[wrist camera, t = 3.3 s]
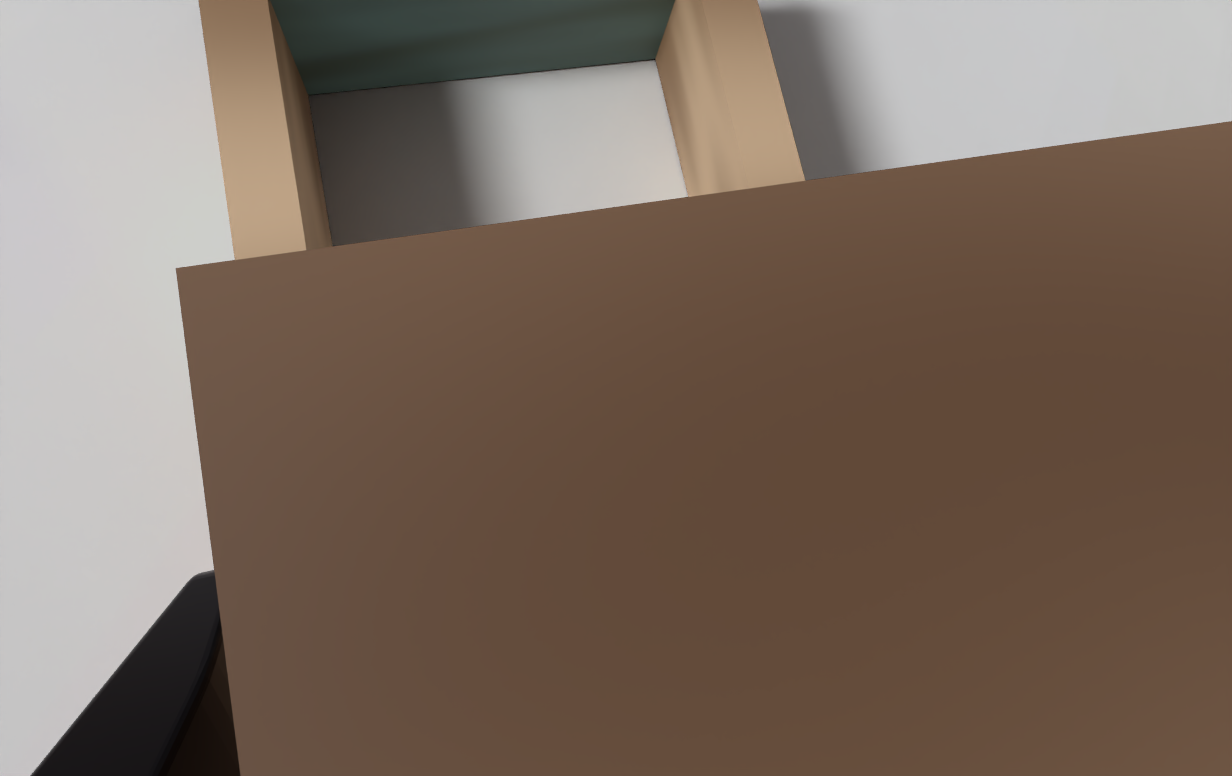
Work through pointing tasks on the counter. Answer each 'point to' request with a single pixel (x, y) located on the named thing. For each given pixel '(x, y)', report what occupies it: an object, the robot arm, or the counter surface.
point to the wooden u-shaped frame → (468, 48)
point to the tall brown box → (740, 480)
